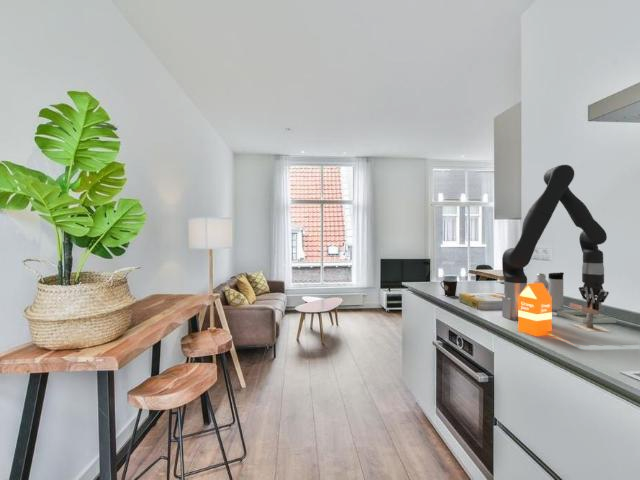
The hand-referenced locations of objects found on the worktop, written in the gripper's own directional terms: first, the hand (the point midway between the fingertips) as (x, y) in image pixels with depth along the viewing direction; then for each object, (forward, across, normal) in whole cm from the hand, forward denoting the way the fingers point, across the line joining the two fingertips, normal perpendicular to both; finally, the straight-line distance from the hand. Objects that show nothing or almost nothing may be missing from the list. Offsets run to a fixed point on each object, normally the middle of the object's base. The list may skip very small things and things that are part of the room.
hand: (593, 310), depth 140 cm
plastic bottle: (+5, -14, -14) cm, 20 cm away
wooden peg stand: (+5, +14, -14) cm, 20 cm away
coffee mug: (+5, -63, -40) cm, 75 cm away
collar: (0, 0, -4) cm, 4 cm away
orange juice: (+5, +16, -38) cm, 41 cm away
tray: (+5, 0, -4) cm, 6 cm away
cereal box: (+5, -34, -28) cm, 44 cm away
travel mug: (+5, -20, -2) cm, 21 cm away
